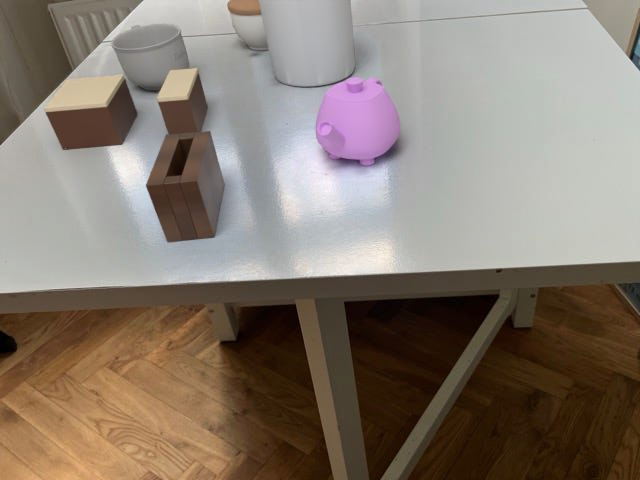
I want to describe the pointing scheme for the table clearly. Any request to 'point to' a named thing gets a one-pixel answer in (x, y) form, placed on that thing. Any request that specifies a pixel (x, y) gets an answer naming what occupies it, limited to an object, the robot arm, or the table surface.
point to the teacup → (150, 54)
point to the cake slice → (183, 101)
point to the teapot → (357, 120)
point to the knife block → (187, 186)
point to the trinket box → (248, 23)
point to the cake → (91, 112)
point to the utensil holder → (309, 40)
